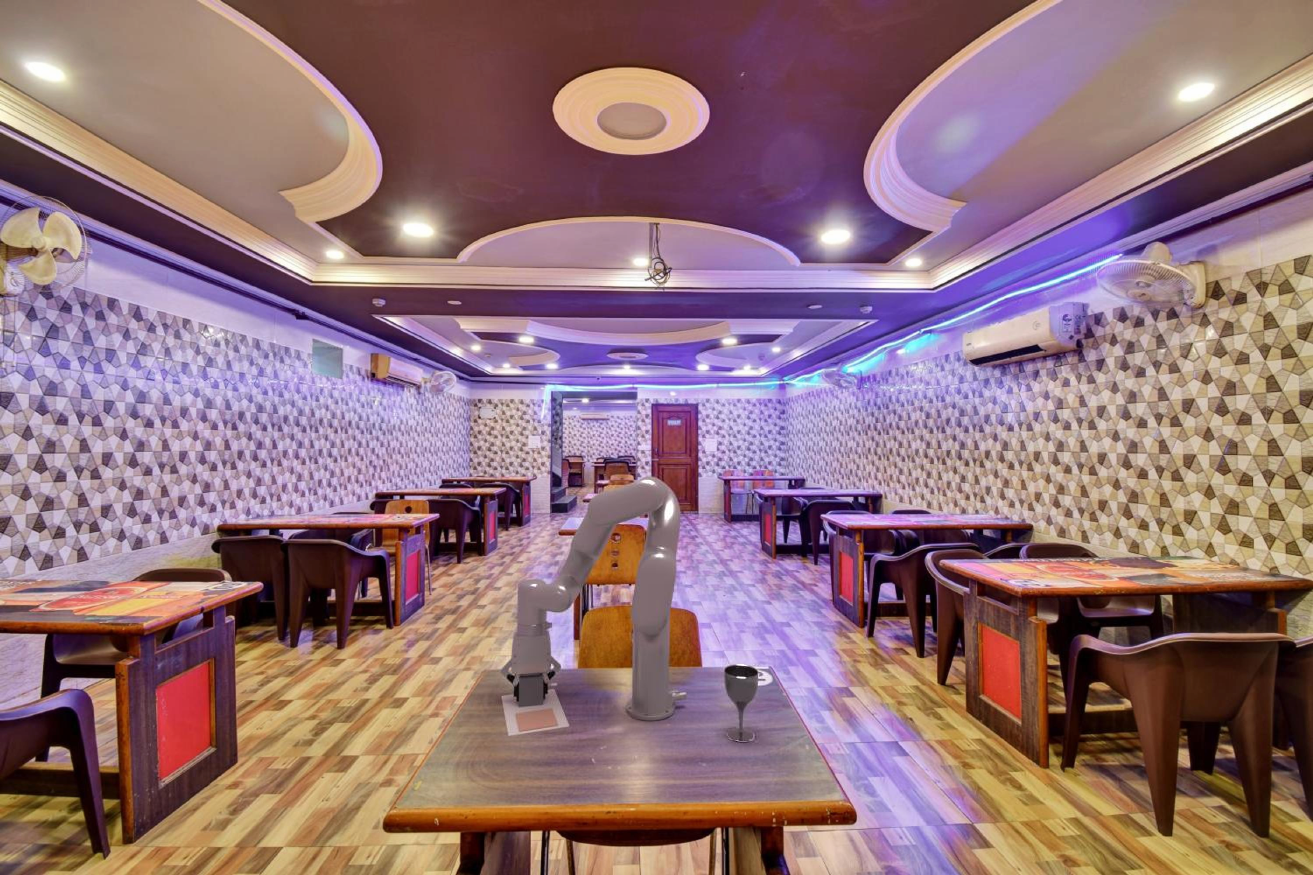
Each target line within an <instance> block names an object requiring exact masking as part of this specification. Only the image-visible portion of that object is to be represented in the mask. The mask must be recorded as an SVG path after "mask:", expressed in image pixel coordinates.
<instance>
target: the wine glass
mask: <svg viewBox="0 0 1313 875" xmlns="http://www.w3.org/2000/svg"><path fill="white" fill-rule="evenodd" d="M723 670H724V674H723V677H724V688H725V692H726V695H727V697H728V698H729V699H730V701H731V702H732V703H733V704H734V705H735V707H736V710H737V712H738V721H739V723H738V727H739V728H736V727H731V728H732V729H731V728H728V729H727V730H726V732H727V731H728V732H727V734H728V736H729V737H730V738H731V739H733V741H732V742H734V741H749V739H752V738H753V733H752V732H751V731H752V730H751V729H749V728H746V727H743V720H744V712H745V710H746V707H747V706H748V705H749V704H751V702H752V701H753V700H754V699H755V698H756V694H757V691H758V684H759V671H758V669H757V668H756V667H754V666H752V665H747V664H740V663H738V664H730V665H727V666H725V668H724V669H723ZM745 728H746V729H745ZM748 729H749V730H748ZM750 730H751V731H750Z"/></svg>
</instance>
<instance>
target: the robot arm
mask: <svg viewBox="0 0 1313 875" xmlns="http://www.w3.org/2000/svg"><path fill="white" fill-rule="evenodd" d="M586 509H587V510H586V513H585V515H584V517H583V519H582V521H581V523H580V524H579V525H578V526H579V527H578V528H577V529H576V531H575V534H574V535H573V537H572V539H571V541H570V542H571V543H570V549H569V553H568V556H567V558H566V559H565V561H564V564H563V566H562V567H561V569H560V571H559V573H558V575H557V577H556V578H555V580H554V581H553V582H551V583H547V582H546V581H545V580H543V579H539V578H528V579H524V580H522V581H520V582H519V583H518V586H517V602H516V603H517V604H516V606H517V609H516V610H517V613H516V614H517V616H516V618H517V619H516V620H517V621H516V623H517V624H516V632H514V634H513V638H512V642H511V643H512V645H511V655H510V656H511V658H510V659H509V660H508V661H507V662H506V663H505V664H504V666H502V668H501V669H500V674H501V675H503V677H505V678H506V679H507V681H509V682H510V683H511V684H512V686H513V694H514V697H516V702H518V701H519V677H520V676H521V675H524V674H537V673H541V674H542V676H543V699H545V694H548V690H549V682H550V681H551V680H552V678H554V676H556V674H557V673H558V672H559V671H560V670H561V669H562V665H561V663H560V662H558V661H557V660H556V659H555V658H554V657H553V655H552V642H551V635H550V630H548V629H552V628H553V622H549V621H548V620H547V617H548V614H547V612H550V613H557V614H558V613H563V612H566V611H567V610H568V611H569V609H570V608H571V607H572V605H573V604H574V602H575V600H576V599H577V597H578V596H579V594H580V592H581V591H582V589H583V587H584V585H585V584H586V581H587V580H588V577H589V576H590V574H591V572H592V570H593V568H594V566H595V564H596V563H597V562H598V561H599V559H600V558H601V555H602V554H603V551H604V550H605V547H606V546H607V544H608V542H609V540H610V538H611V536H612V534H613V533H614V530H615V529H616V527H617V525H619V524H622V523H625V522H627V521H630V520H634V519H636V518H638V517H639V518H640V517H642V516H645V515H648V522H647V527H646V536H645V542H644V548H643V552H642V555H641V557H640V560H639V561H638V567H637V571H636V577H635V582H634V590H633V596H632V600H631V601H632V602H631V608H630V619H631V620H630V621H631V623H632V625H633V626H632V671H631V672H632V681H631V682H632V684H631V686H632V687H631V690H632V691H631V698H630V699H629V700H628V701H627V702H626V705H625V710H626V711H625V712H626V713H627V714H628V715H629V716H630V717H633V718H634V719H638V720H640V721H641V720H643V721H661V720H664V719H666V718H668V717H671V716H672V715H673V714H674V713H675V712H676V711H675V710H676V706H675V703H676V701H684V700H687V697H688V695H687V692H686V691H679V689H672V690H670V630H671V629H670V624H671V609H672V603H673V598H674V597H673V596H674V591H675V585H676V578H677V554H678V552H677V551H678V545H679V539H680V538H679V537H680V531H681V530H680V528H681V522H682V521H681V520H682V519H681V516H682V515H681V507H680V503H679V501H678V499H677V495H676V494H675V492H674V491H673V490H672V488H670V487H669V486H668V484H666V483H665V482H664V481H663V480H660V479H659V478H657V477H654V476H643V477H641V478H640V479H639V480H635V481H633V482H630V483H628V484H626V485H622V486H620V487H616V488H614V489H612V490H605V491H601V492H599V493H596V494H595V495H594V496H592V498H591V499H590V501H589V502H588V505H587V508H586ZM552 666H553V668H552ZM551 668H552V669H551ZM509 669H511V672H510V671H509Z"/></svg>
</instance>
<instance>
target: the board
mask: <svg viewBox="0 0 1313 875" xmlns="http://www.w3.org/2000/svg"><path fill="white" fill-rule="evenodd" d="M501 701H502V707H503V712H504V714H503V715H504V719H505V724H506V730H507V736H508V737H511V736H517V735H518V736H519V735H523V734H525V735H526V734H530V733H537V732H543V731H548V730H549V731H550V730H556V729H562V728H563V729H564V728H568V727H570V724H569V721H568V719H567V717H566V715H565V712H564V710H563V707H562V705H561V702H560V699H559V697H558V695H557V692H556V690H555V688H550V689H549V688H548V694H545V699H543V705H536V706H526V707H519V701H518V702H516V697H514V693H513V694H512V693H511V694H506V695H505V694H504V695H501Z"/></svg>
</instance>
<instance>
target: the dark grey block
mask: <svg viewBox="0 0 1313 875" xmlns="http://www.w3.org/2000/svg"><path fill="white" fill-rule="evenodd" d="M536 705H543V676H542V674H541V673H537V674H524V675H521V676H520V677H519V707H526V706H536Z"/></svg>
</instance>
